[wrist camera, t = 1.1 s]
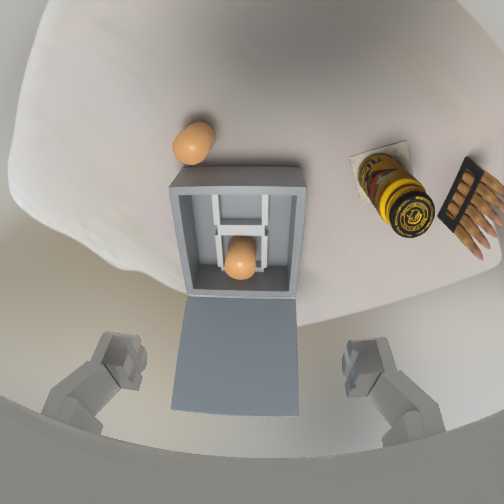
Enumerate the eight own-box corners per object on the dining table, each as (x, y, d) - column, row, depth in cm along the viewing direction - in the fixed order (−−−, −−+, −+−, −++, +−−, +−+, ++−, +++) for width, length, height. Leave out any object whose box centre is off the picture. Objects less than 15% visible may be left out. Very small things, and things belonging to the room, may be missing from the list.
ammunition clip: (465, 156, 32) (515, 192, 23) (472, 160, 33) (522, 197, 23) (436, 216, 38) (475, 264, 29) (444, 219, 39) (482, 266, 29)
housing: (182, 167, 36) (168, 187, 31) (300, 167, 36) (306, 187, 31) (195, 265, 46) (187, 293, 40) (292, 267, 45) (295, 296, 40)
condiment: (348, 157, 35) (380, 197, 25) (405, 140, 32) (453, 174, 23) (361, 204, 38) (390, 256, 29) (414, 187, 36) (455, 233, 27)
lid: (170, 409, 30) (174, 410, 32) (298, 415, 30) (296, 417, 31) (187, 296, 40) (189, 301, 42) (295, 299, 40) (294, 304, 41)
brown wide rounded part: (182, 122, 33) (170, 131, 29) (214, 120, 33) (207, 129, 29) (185, 152, 35) (174, 165, 31) (216, 151, 35) (209, 164, 31)
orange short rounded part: (227, 233, 41) (223, 255, 37) (256, 234, 41) (255, 255, 37) (229, 256, 43) (225, 279, 39) (256, 257, 43) (255, 280, 39)
